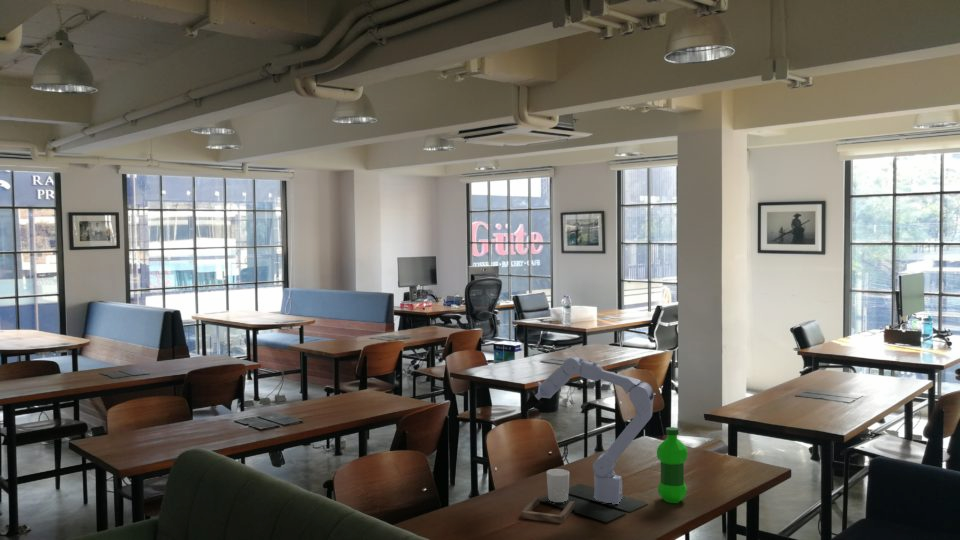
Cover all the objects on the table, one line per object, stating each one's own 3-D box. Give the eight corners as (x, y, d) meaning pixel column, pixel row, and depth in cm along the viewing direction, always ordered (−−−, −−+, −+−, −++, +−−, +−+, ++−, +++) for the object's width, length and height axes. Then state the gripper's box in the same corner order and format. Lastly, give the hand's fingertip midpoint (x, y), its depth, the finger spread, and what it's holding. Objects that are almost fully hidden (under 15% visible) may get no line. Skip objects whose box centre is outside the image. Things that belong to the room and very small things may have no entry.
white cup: (568, 505, 264) (568, 476, 263) (545, 504, 265) (545, 475, 265) (570, 497, 272) (570, 469, 271) (548, 496, 273) (547, 468, 273)
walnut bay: (574, 507, 262) (574, 501, 262) (562, 523, 247) (562, 517, 247) (535, 502, 267) (534, 496, 267) (520, 518, 252) (520, 511, 252)
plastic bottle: (688, 497, 270) (688, 426, 269) (686, 507, 260) (686, 433, 259) (659, 494, 274) (658, 424, 273) (655, 504, 264) (655, 431, 263)
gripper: (552, 370, 281) (527, 394, 285) (541, 377, 268) (514, 402, 272) (566, 384, 280) (540, 408, 284) (554, 393, 266) (528, 417, 270)
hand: (528, 406), depth 278 cm, fingers open, 7 cm apart
